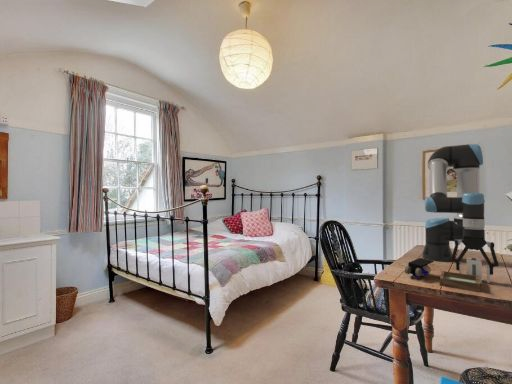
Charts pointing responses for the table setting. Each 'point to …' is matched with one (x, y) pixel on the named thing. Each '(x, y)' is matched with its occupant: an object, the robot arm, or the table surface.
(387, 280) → the table surface
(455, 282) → the brown wooden square tray
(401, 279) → the table surface
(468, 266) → the strip block
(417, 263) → the figurine character
